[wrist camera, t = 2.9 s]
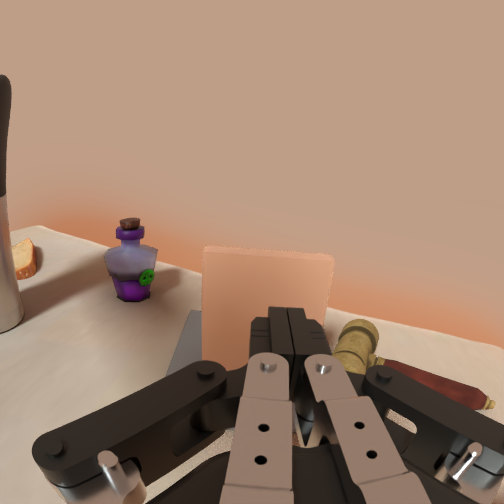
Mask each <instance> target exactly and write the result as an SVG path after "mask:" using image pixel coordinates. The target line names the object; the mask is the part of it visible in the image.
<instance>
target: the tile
mask: <svg viewBox="0 0 504 504" xmlns="http://www.w3.org/2000/svg"><path fill="white" fill-rule="evenodd" d="M334 264H335V261H334V259H333V258H332V256H331V255H330V254H316V253H303V252H290V251H275V250H263V249H250V248H235V247H222V246H208V245H206V246H205V248H204V250H203V257H202V360H209V361H214V362H217V363H219V364H221V365H222V366H223V367H225V369H226V371H230V370H235V369H239V368H241V367H243V366H245V365H246V364H247V363H248V360H249V342H250V329H251V322H252V321H253V320H254V318H255V317H267V315H268V307H269V306H274V307H295V308H304V311H305V315H306V318H307V319H315V320H316V321H317V322H318V323H319V324H320V325H322V328H323V323H324V318H325V313H326V308H327V303H328V297H329V292H330V286H331V281H332V275H333V269H334Z"/></svg>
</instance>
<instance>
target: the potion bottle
mask: <svg viewBox="0 0 504 504" xmlns="http://www.w3.org/2000/svg"><path fill="white" fill-rule="evenodd" d="M120 225H121V226H120V227H118V228H117V229H116V238H117V239H120V240H121V246H118V247H115V248H111V249H108V250H107V252H106V253H105V255H104V259H105V263H106V266H107V269H108V272H109V275H110V276H112V279H113V282H114V285H115V288H116V291H117V294H118V296H117V298H119V299H121V300H122V301H124V302H140V301H143V300H145V299H148V298H149V297H150V291H149V290H150V284H151V282H152V281H153V278H154V268H155V262H156V256H157V251H158V250H157V249H155V248H153V247H149V246H147V245H141V244H140V239H141V238H143V237H144V227H143V226H140V219H139V218H127V219H122V220H120Z"/></svg>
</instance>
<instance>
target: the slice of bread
mask: <svg viewBox="0 0 504 504" xmlns="http://www.w3.org/2000/svg"><path fill="white" fill-rule="evenodd" d="M11 247H12V254H13V260H14V266H15V272H16V277H17V280H21V279H27V278H30V277H32V276H34V274H35V272H36V269H37V263H36V249H35V247H34V245H33V243H32V241H31V240H30V239H29V238H28V239H26V240H24V241H23V242H20V243H19V244H17V245H15V246H11Z"/></svg>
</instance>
